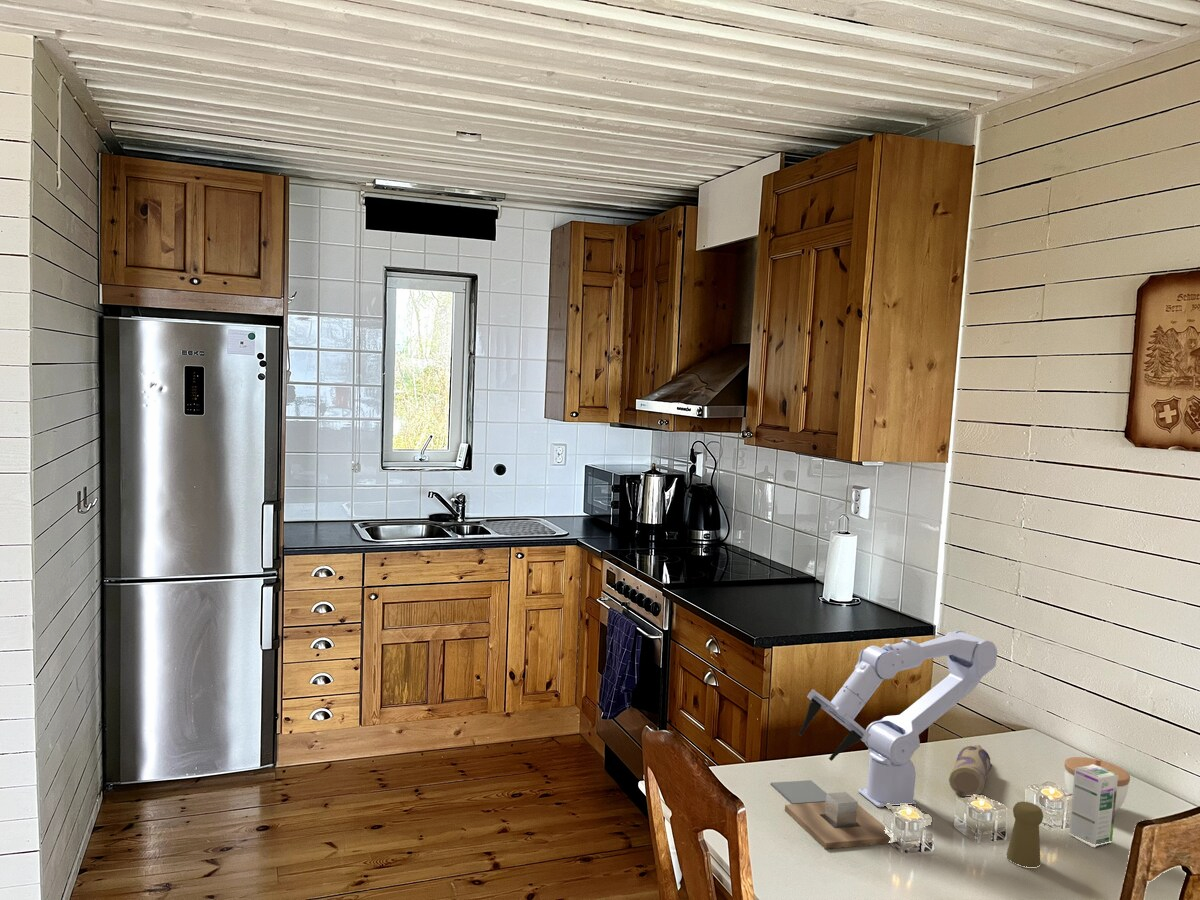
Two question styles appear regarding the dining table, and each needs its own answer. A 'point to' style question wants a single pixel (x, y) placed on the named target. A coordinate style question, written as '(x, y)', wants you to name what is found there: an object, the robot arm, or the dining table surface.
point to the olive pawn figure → (1025, 835)
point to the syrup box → (1093, 804)
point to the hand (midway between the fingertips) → (814, 747)
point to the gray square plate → (800, 791)
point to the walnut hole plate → (828, 836)
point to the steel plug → (840, 810)
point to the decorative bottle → (970, 770)
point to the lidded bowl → (1083, 761)
